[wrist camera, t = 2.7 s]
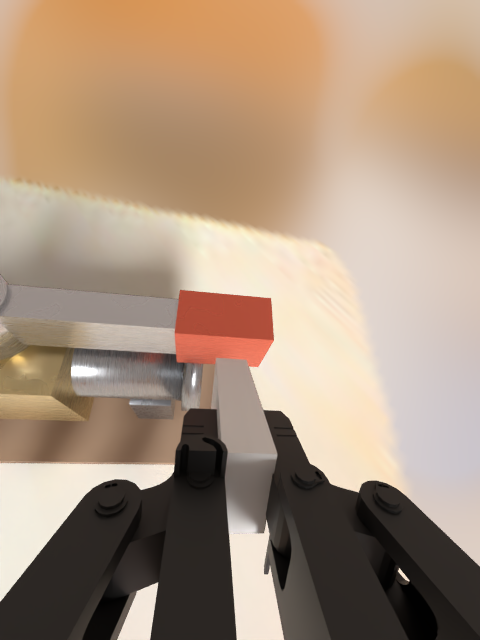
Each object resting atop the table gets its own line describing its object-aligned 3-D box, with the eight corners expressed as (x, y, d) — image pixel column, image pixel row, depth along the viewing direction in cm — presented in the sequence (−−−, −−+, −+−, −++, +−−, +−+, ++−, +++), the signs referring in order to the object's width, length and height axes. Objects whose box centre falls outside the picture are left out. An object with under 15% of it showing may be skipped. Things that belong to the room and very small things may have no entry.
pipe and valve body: (-103, 424, 22) (-295, 382, 14) (-57, 343, 26) (-184, 267, 17) (195, 431, 26) (200, 401, 17) (201, 358, 29) (207, 301, 20)
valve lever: (-47, 358, 15) (-113, 322, 12) (-17, 303, 17) (-67, 257, 14) (258, 375, 18) (274, 348, 14) (256, 324, 20) (271, 290, 16)
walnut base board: (-135, 461, 23) (-162, 459, 21) (-56, 327, 29) (-72, 317, 27) (219, 464, 26) (221, 463, 25) (223, 346, 32) (225, 338, 31)
